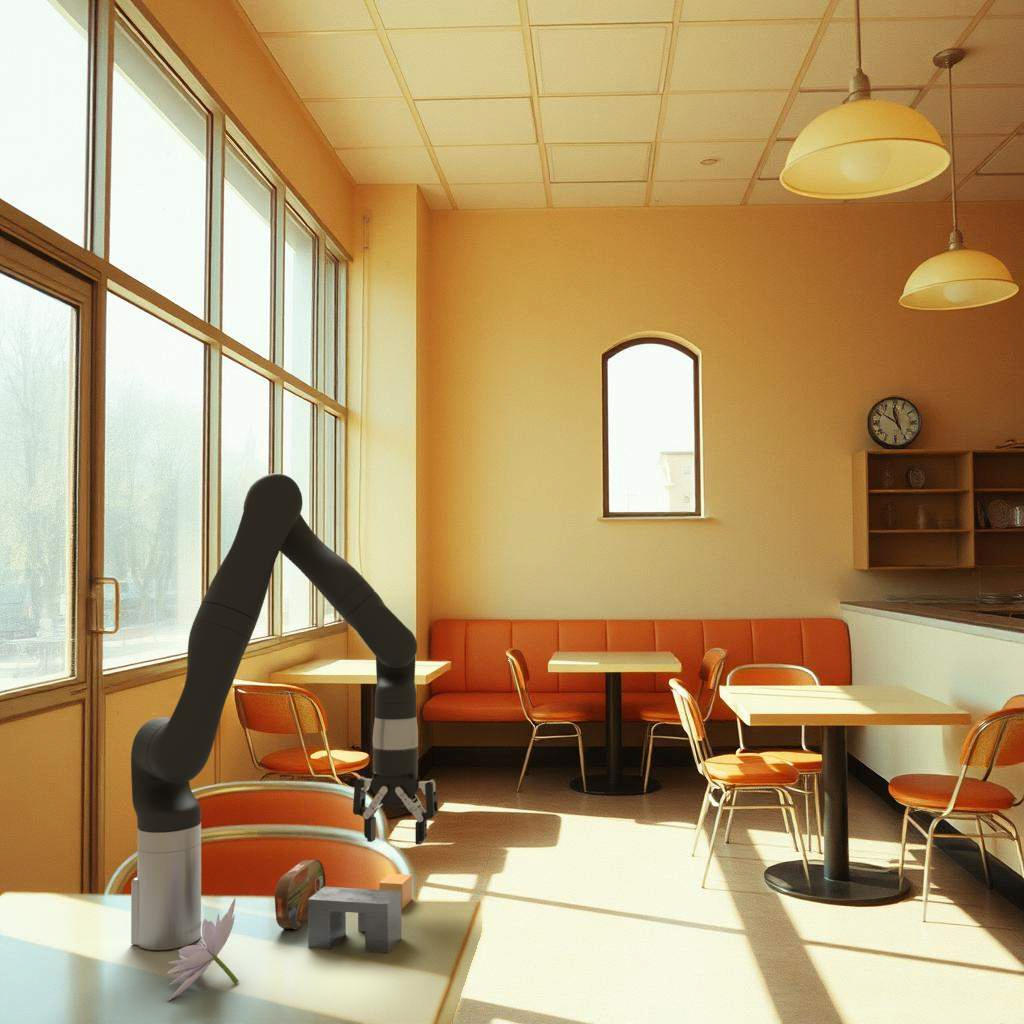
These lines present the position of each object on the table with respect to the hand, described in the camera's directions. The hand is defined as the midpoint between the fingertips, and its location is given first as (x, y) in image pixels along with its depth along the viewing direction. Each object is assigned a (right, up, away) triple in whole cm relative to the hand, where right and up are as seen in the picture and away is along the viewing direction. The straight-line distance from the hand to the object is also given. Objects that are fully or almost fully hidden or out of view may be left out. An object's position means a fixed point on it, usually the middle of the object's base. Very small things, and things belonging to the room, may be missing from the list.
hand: (395, 842), depth 168 cm
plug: (-1, -10, -5) cm, 11 cm away
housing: (-4, -9, -18) cm, 20 cm away
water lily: (-23, -9, -31) cm, 40 cm away
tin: (-14, -10, -7) cm, 19 cm away
